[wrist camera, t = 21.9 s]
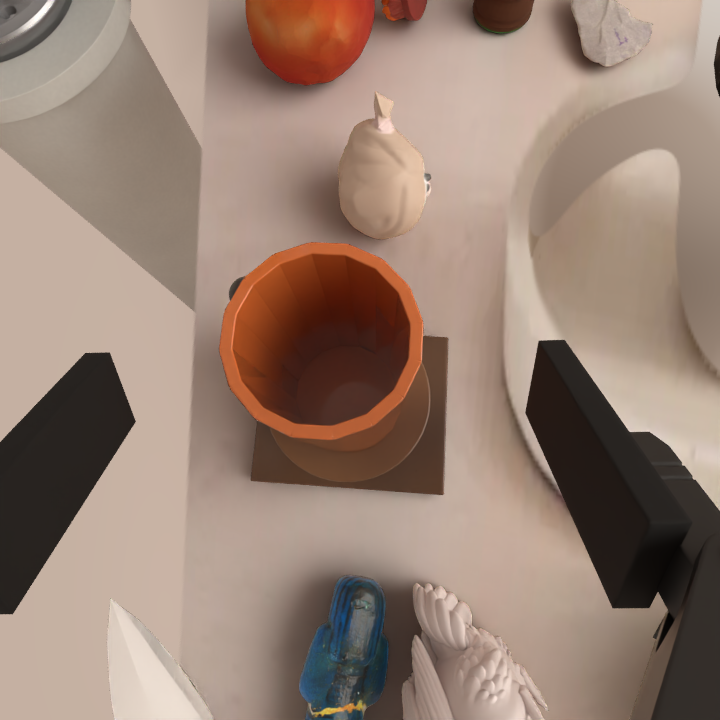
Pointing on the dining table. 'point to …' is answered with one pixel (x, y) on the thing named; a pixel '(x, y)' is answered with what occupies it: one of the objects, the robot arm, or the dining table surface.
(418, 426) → the cup stand
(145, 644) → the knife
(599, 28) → the stone
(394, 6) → the dentures
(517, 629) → the dining table surface
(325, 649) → the figurine
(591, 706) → the dining table surface
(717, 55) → the platform
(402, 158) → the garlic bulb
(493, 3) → the chess piece
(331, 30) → the tomato
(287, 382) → the cup
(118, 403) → the robot arm
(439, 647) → the figurine
